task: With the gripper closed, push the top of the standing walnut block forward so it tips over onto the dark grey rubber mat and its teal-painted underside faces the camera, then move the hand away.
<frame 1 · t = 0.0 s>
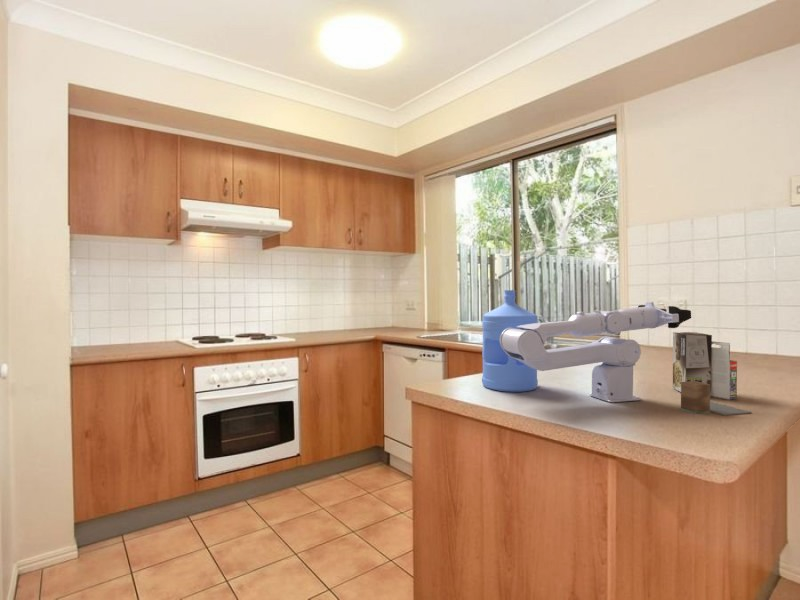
hand: (677, 313, 121), 22 cm above the table, tool horizontal, fingers open, 7 cm apart
walnut block: (695, 410, 105), on the table
water jug: (509, 387, 131), on the table
rubber mat: (716, 408, 106), on the table
coffee box: (691, 392, 123), on the table, touching ink box
ink box: (716, 397, 119), on the table, touching coffee box
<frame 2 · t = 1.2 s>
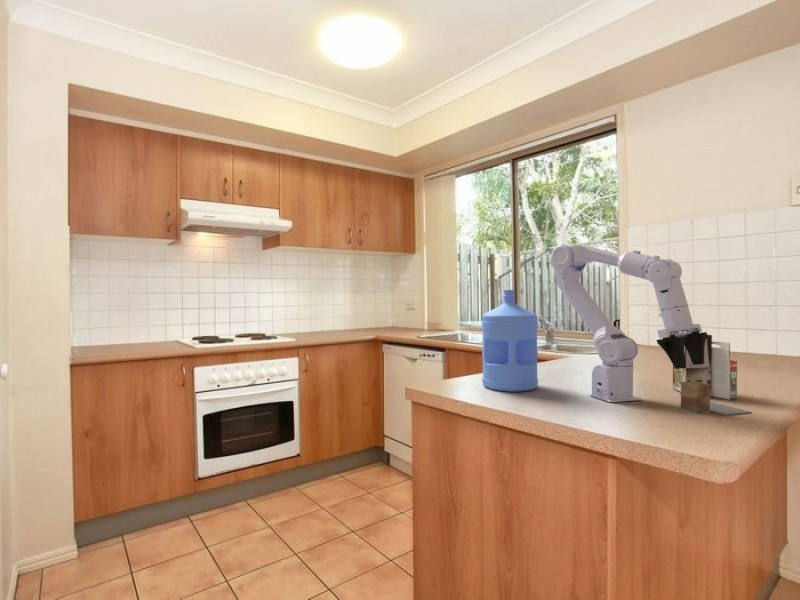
hand: (690, 366, 103), 10 cm above the table, tool pointing down, fingers open, 7 cm apart
nothing on the table moved.
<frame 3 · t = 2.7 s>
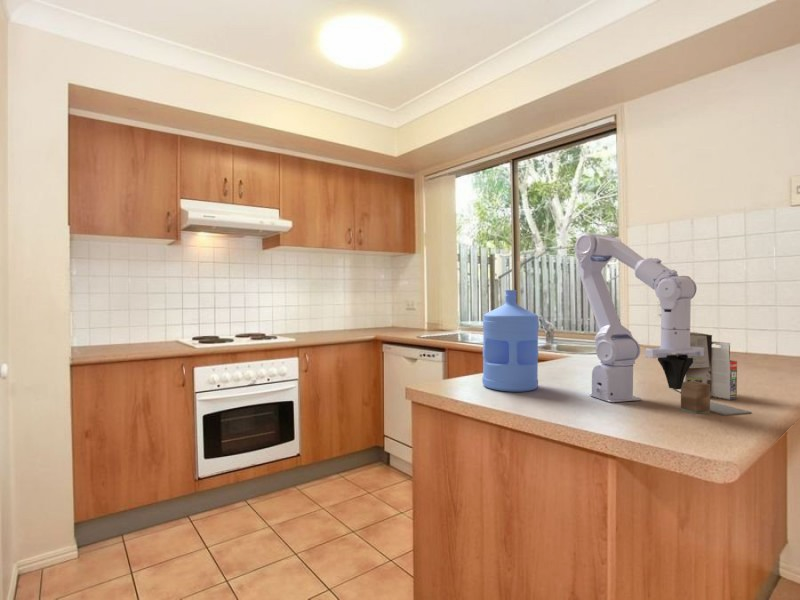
hand: (674, 388, 103), 6 cm above the table, tool pointing down, fingers closed
nothing on the table moved.
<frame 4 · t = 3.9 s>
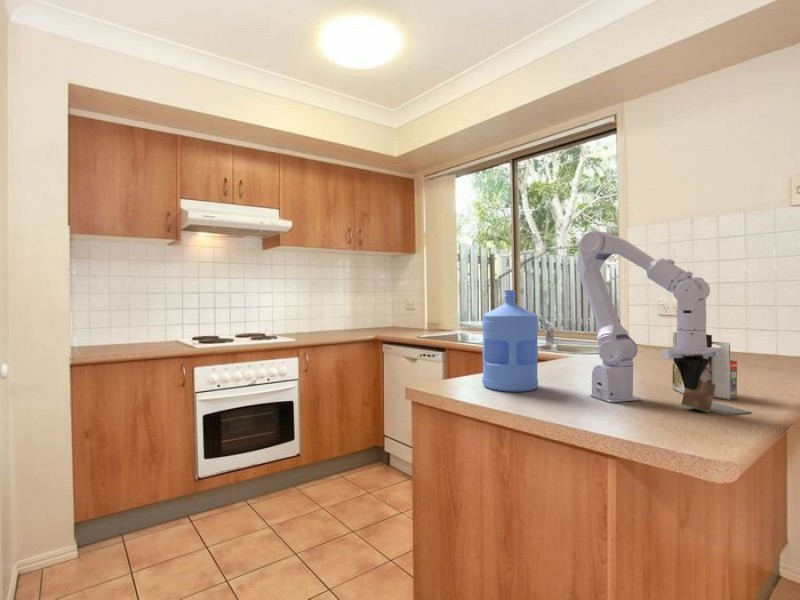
hand: (690, 388, 104), 5 cm above the table, tool pointing down, fingers closed
walnut block: (695, 408, 105), on the table, tilted 15°
everything else where it was.
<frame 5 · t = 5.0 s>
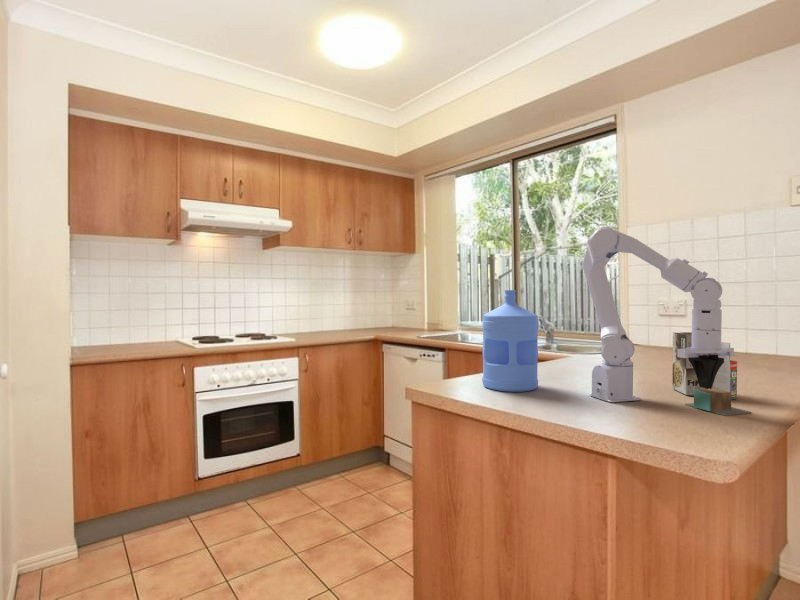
hand: (705, 387, 105), 5 cm above the table, tool pointing down, fingers closed
walnut block: (701, 400, 105), point 2 cm above the table, tilted 90°, touching rubber mat
everything else where it was.
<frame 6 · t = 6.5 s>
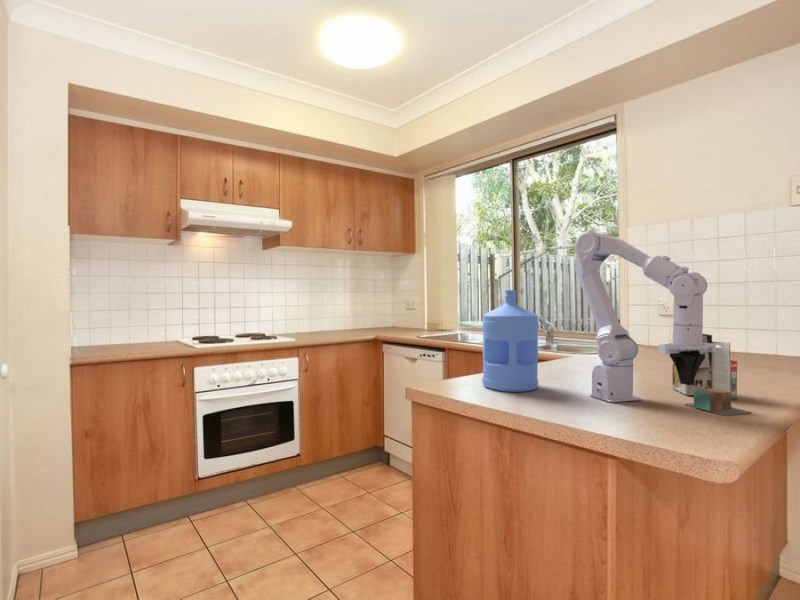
hand: (686, 384, 104), 6 cm above the table, tool pointing down, fingers closed
nothing on the table moved.
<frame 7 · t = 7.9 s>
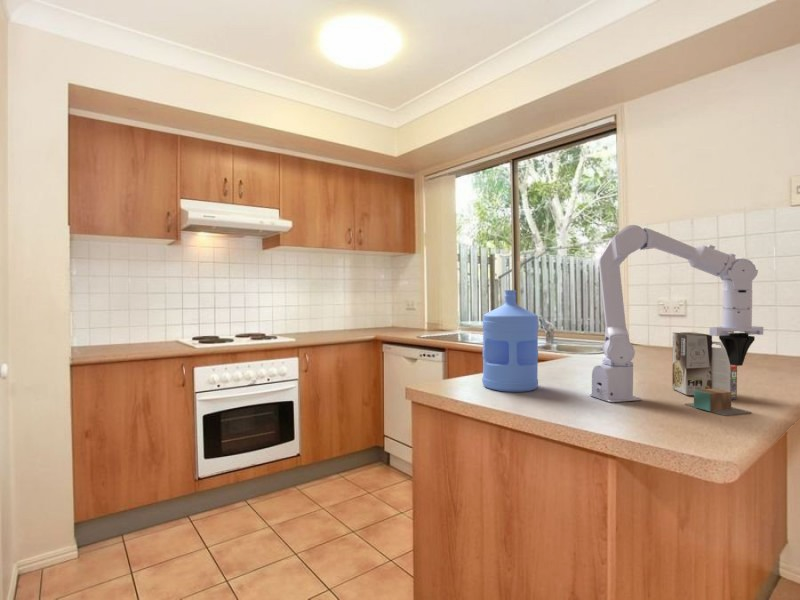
hand: (736, 365, 109), 10 cm above the table, tool pointing down, fingers closed
nothing on the table moved.
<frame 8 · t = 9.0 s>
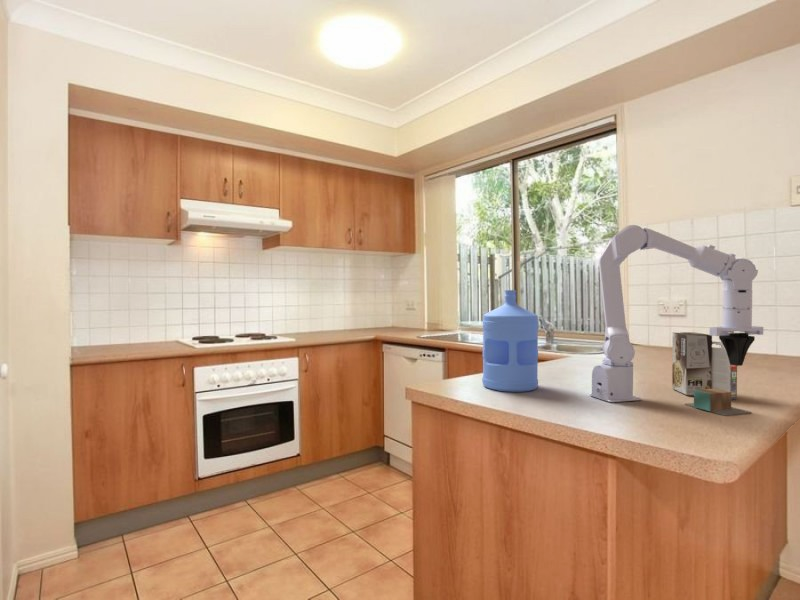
hand: (736, 365, 109), 10 cm above the table, tool pointing down, fingers closed
nothing on the table moved.
at the end: walnut block tilted 90°; walnut block inside the target area (4.1 cm from its centre), point 2.3 cm above the table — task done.
